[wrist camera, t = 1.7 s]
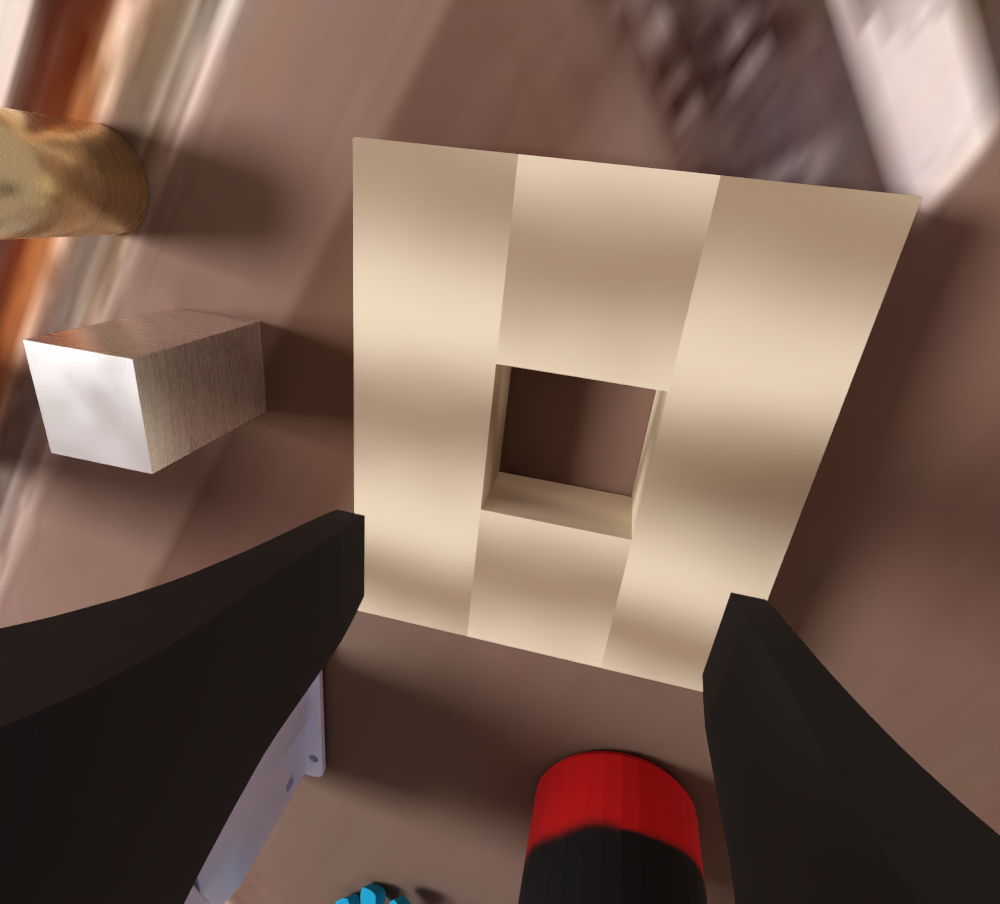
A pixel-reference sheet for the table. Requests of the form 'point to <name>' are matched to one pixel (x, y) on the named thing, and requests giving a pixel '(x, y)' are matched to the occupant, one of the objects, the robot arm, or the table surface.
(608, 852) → the soda can
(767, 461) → the socket plate
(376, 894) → the gear
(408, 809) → the table surface
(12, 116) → the round bit
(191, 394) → the square bit
